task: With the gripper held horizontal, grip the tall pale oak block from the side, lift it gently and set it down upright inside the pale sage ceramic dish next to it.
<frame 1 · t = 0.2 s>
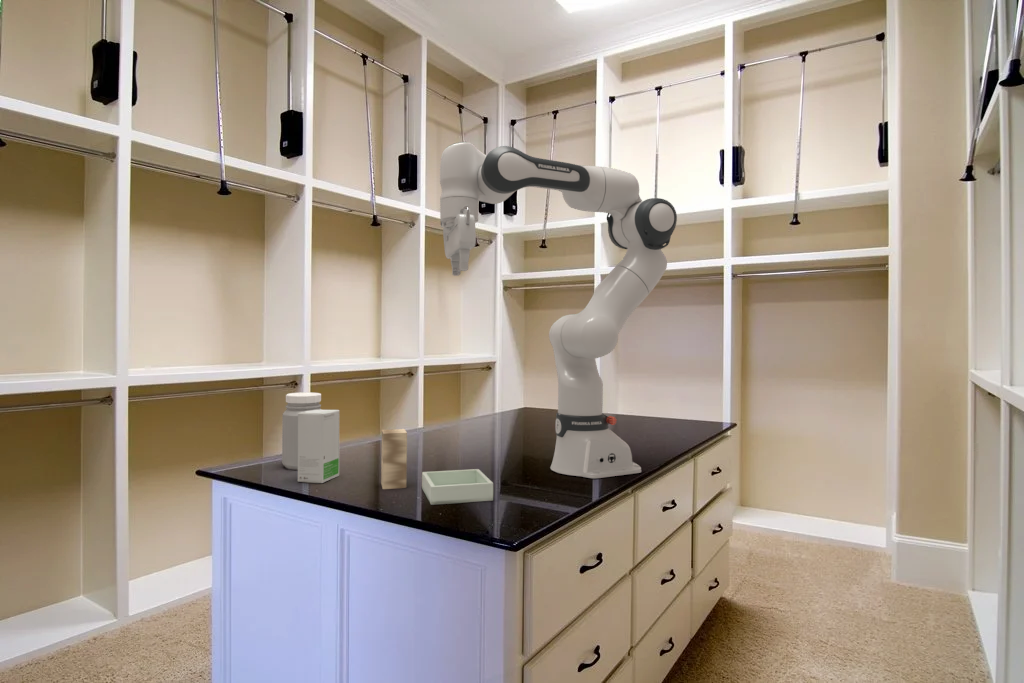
hand: (459, 273, 135), 48 cm above the counter, tool pointing down, fingers open, 8 cm apart
dish: (456, 494, 122), on the counter
skincare box: (318, 479, 133), on the counter
oak block: (393, 485, 128), on the counter
jar: (303, 466, 145), on the counter
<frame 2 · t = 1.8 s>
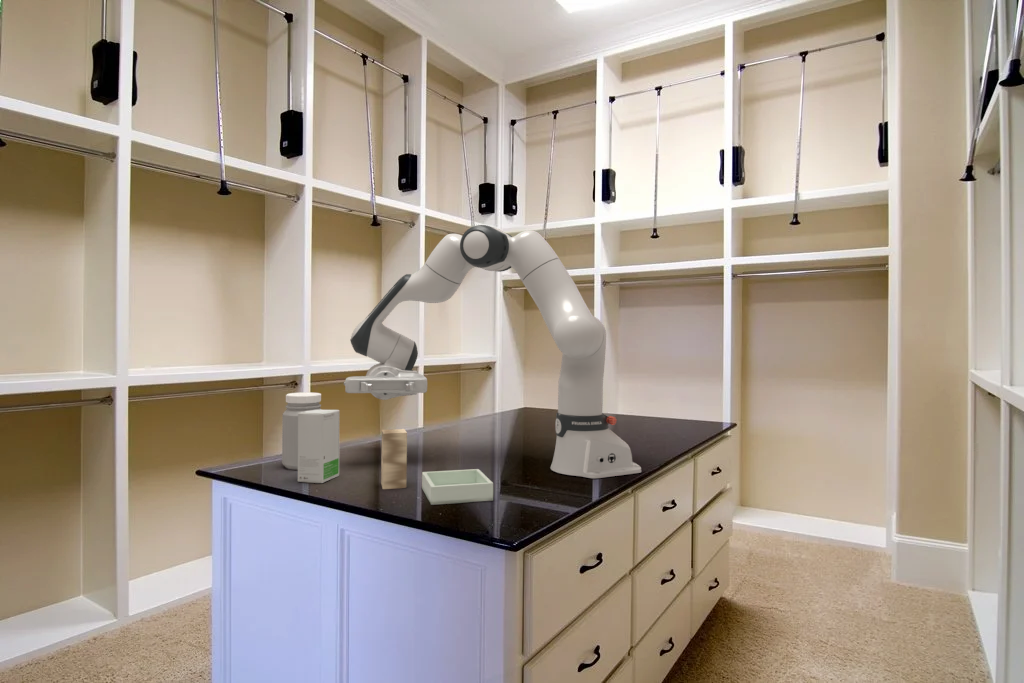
hand: (389, 387, 140), 20 cm above the counter, tool horizontal, fingers open, 8 cm apart
nothing on the counter moved.
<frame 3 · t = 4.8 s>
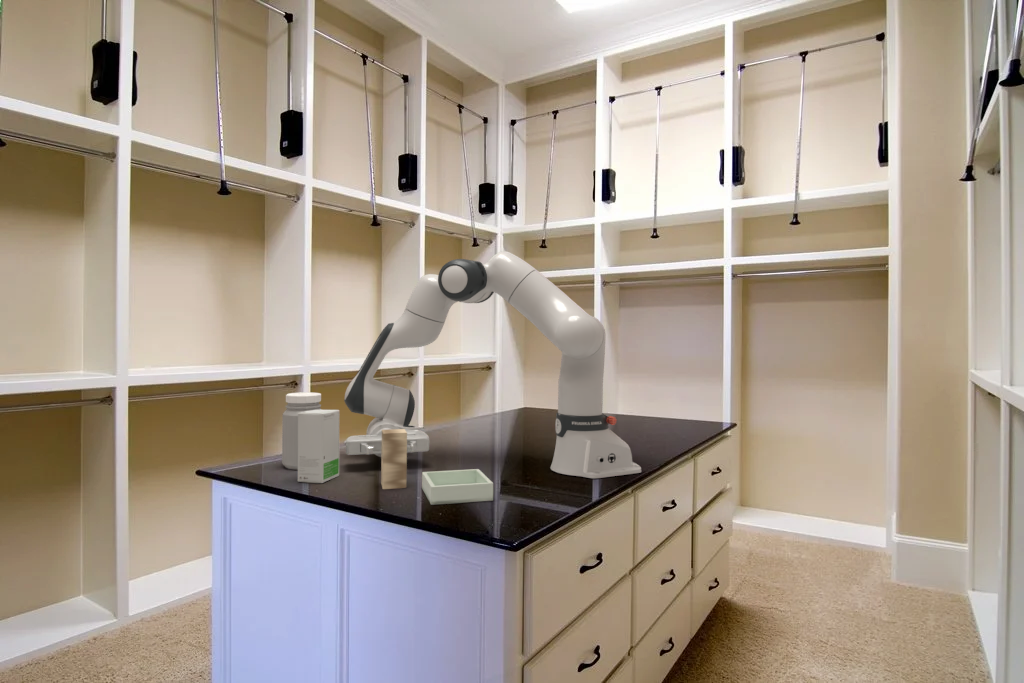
hand: (390, 450, 137), 6 cm above the counter, tool horizontal, fingers open, 8 cm apart
nothing on the counter moved.
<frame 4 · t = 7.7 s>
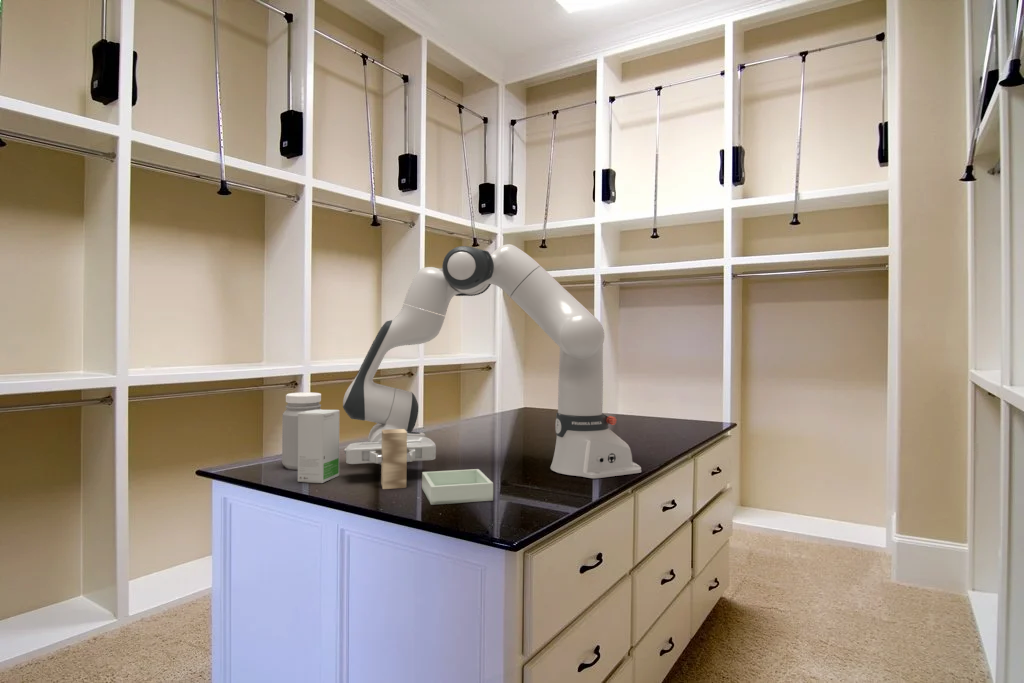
hand: (394, 459, 127), 6 cm above the counter, tool horizontal, fingers closed on oak block, 5 cm apart
oak block: (393, 485, 128), on the counter, touching gripper
everything else where it was.
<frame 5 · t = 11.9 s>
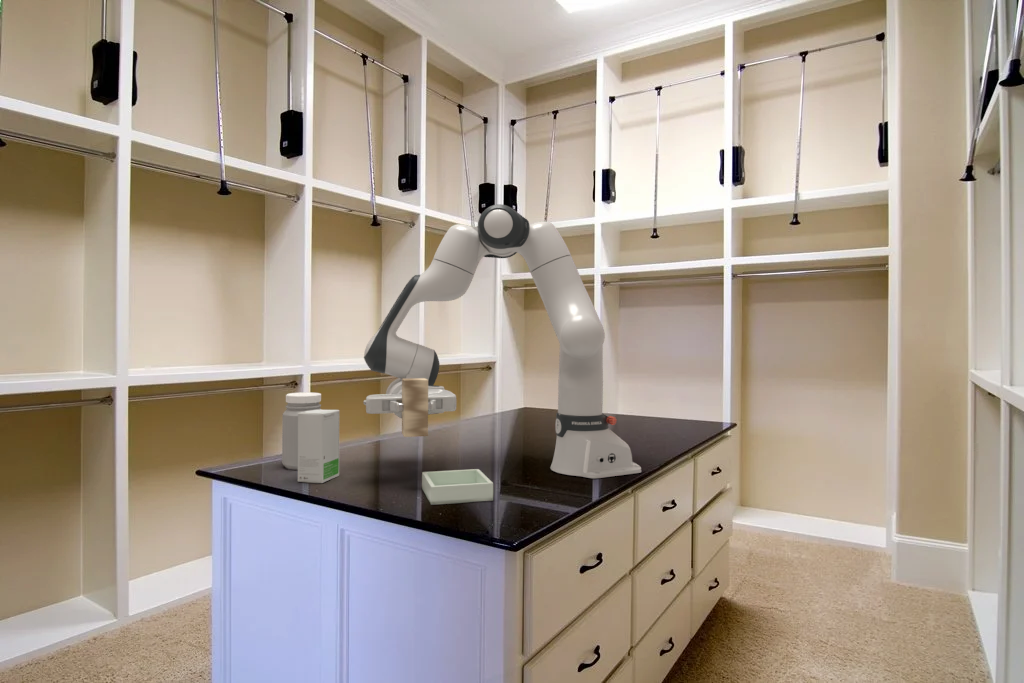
hand: (415, 407, 125), 18 cm above the counter, tool horizontal, fingers closed on oak block, 5 cm apart
oak block: (414, 434, 126), point 12 cm above the counter, touching gripper
everything else where it was.
when the fingers open (8 cm above the counter, at t = 16.3 s): oak block drops 1 cm, resting on dish.
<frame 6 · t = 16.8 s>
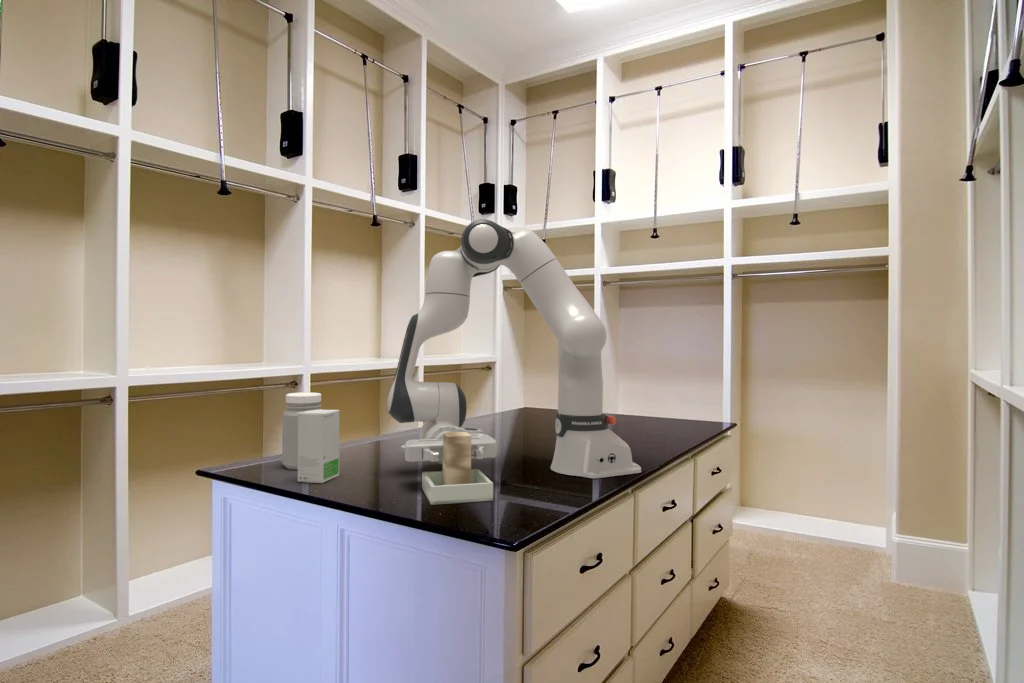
hand: (457, 456, 121), 8 cm above the counter, tool horizontal, fingers open, 8 cm apart
oak block: (456, 491, 122), point 1 cm above the counter, touching dish
everything else where it was.
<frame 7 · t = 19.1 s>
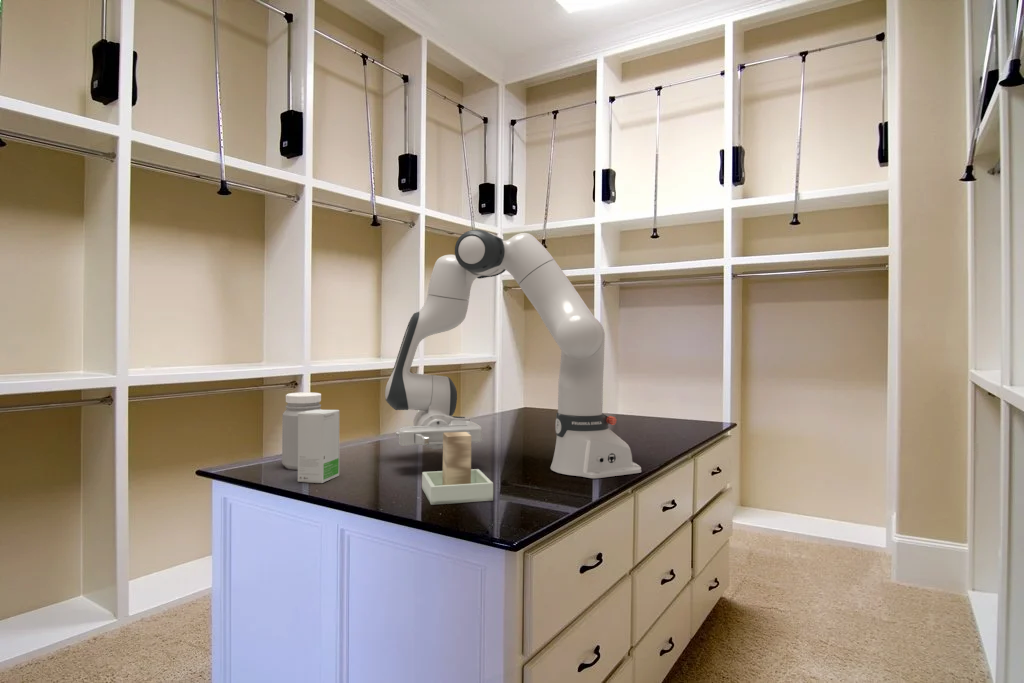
hand: (446, 440, 135), 9 cm above the counter, tool horizontal, fingers open, 8 cm apart
nothing on the counter moved.
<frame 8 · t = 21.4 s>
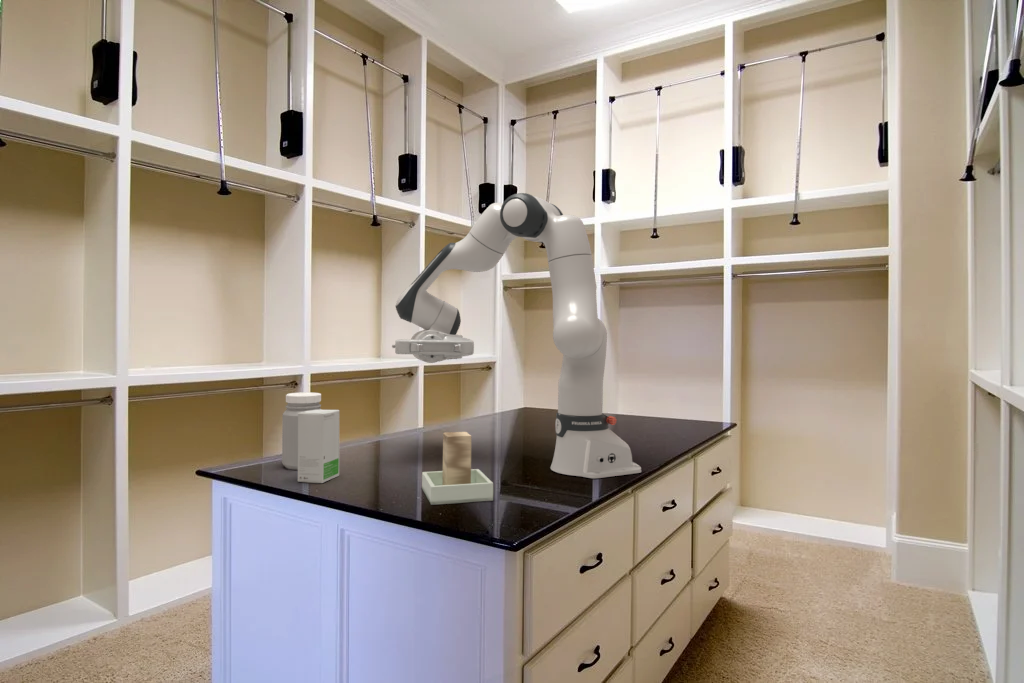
hand: (439, 347, 144), 30 cm above the counter, tool horizontal, fingers open, 8 cm apart
nothing on the counter moved.
at the end: oak block 0.0 cm off-centre on the dish, point 0.6 cm above the dish's base; oak block tilted 0°; the gripper is holding nothing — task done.
